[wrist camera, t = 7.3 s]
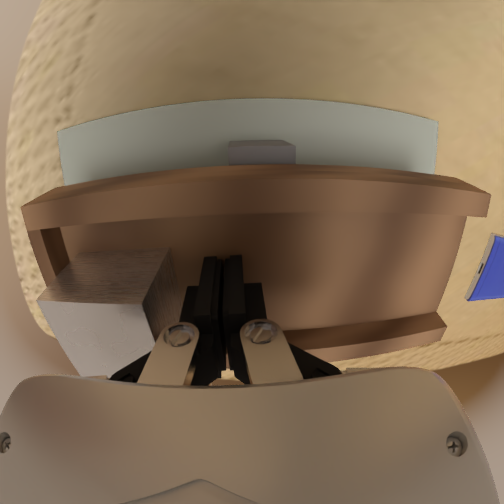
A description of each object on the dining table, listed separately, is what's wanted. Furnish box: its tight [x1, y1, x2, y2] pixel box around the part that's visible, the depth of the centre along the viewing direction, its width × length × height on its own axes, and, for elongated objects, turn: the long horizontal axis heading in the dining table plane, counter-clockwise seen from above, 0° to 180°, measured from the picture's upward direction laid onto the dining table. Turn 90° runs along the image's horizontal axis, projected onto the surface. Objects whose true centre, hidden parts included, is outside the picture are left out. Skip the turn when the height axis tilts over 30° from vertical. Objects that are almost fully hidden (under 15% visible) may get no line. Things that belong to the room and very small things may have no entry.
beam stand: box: [57, 98, 438, 186], centre depth 16 cm, size 26×16×5 cm, turn 92°
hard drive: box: [464, 233, 504, 301], centre depth 22 cm, size 2×8×12 cm
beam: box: [21, 164, 491, 368], centre depth 12 cm, size 22×9×3 cm, turn 92°
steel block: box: [36, 247, 183, 378], centre depth 11 cm, size 5×5×4 cm
